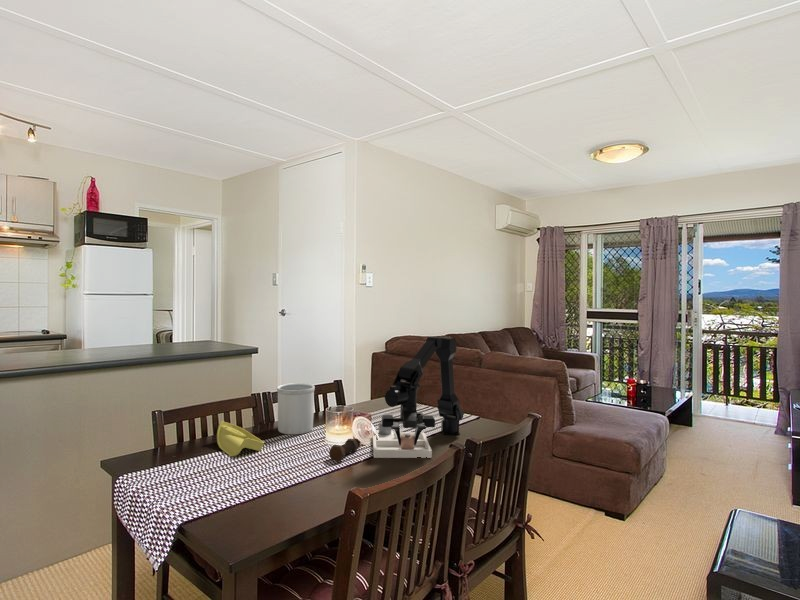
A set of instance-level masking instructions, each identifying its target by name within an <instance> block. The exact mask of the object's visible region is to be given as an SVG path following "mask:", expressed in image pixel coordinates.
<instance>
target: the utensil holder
mask: <svg viewBox="0 0 800 600" xmlns="http://www.w3.org/2000/svg"><path fill="white" fill-rule="evenodd" d="M315 388H316V387H315V384H312V383H307V382H306V383H305V382H292V383H291V382H290V383H284V384H281V385H278V386H277V387H276V391H277V431H278V432H279V433H281V434H285V435H302V434H306V433H310V432H311V431H313V429H314V402H315V401H314V400H315V390H316V389H315Z"/></svg>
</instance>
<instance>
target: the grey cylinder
mask: <svg viewBox="0 0 800 600" xmlns="http://www.w3.org/2000/svg"><path fill="white" fill-rule="evenodd" d="M378 430H379V434H380V435H390V434H391V430H392V429H391V427H382V421H379V422H378Z"/></svg>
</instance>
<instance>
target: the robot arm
mask: <svg viewBox="0 0 800 600" xmlns="http://www.w3.org/2000/svg"><path fill="white" fill-rule="evenodd" d="M457 347H458V345H457V341H456V340H455V339H454V338H453V337H448V336H447V337H446V336H431V335H430V336H427V338H426V341H425V343H423V345H422V346H421V347H420V349H419V350H418V351H417V353H416V354H415V355H414V357H413V358H411V360H407V361H406V362H404V363H403V364H402V365H401V367H399V369H398V372H397V373H396V376H395V378H394V380H393V382H392V385H390V386H389V389H388V390H387V391H386V393H385V395H384V400H385V403H386V405H387V406H388V407H390V408H394V407H397V406H400V407H399V408H400V412H399V413H400V414H399V416H400V417H394V416H393V414H383V415H382V416H381V422H382V427H391V430H393V431H394V433H395V432H396V435H397V438H398V442H399V445H401V439H400V432H401V431H400V425H401V424H402V427H403V428H404V429H411V428H412V429H414V430H415V431H414V432H415V442H414V445H416V443H417V440H418V437H419V435H420V433H421V432H422V431H423V430H426V428H436V420H435V418H434V416H433V415H431V414H430V415H429V414H428V415H427V414H426V415H425V414H423V413H422V412H417V409H418V408H417V406H418V405H417V404H418V403H417V402H418V389H419V388H421V385H420V384H419V382H420V380H421V379H422V377H423V375H424V367H425V366H426V365H427V363H428V362H429V361H430V359H431V358H432V357H433V355H434V353H435V354H436V356H437V357H438V359H439V364H440V365H439V367H440V381H441V395H440V397H439V398H438V399H437V401H436V402H437V410H438V415H439V417H440V418H442V419H441V422H440V423H441V425H440V427H441V428H440V430H441V432H442V433H443V434H444V435H453V436H455V435H460V434H461V433H460V421H462V419H464V414H465V413H464V411H463V409H462V407H461V406H460V402H459V398H458V397H457V395H456V394H455V383H454V382H455V381H454V379H455V378H454V367H453V366H454V365H453V358H454V356H455V355H456V353H457Z"/></svg>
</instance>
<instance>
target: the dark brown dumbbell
mask: <svg viewBox="0 0 800 600" xmlns="http://www.w3.org/2000/svg"><path fill="white" fill-rule="evenodd" d="M361 442H362V441H361V440H360V439H359V438H348V439H346V441H345V442H344V444H342V445H339V444H334V445H332V446H331V448H329V451H328V454H329V457H330V459H331V460H332V461H333V460H335V461H334V462H342V461H343V459H344V458H345V456H346V454H348V453H355V452H356V451H357V450H358V448H359V447H360V446H361ZM354 451H355V452H354ZM341 460H342V461H341Z"/></svg>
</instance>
